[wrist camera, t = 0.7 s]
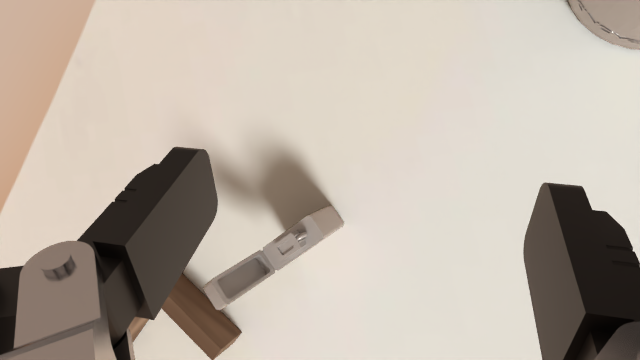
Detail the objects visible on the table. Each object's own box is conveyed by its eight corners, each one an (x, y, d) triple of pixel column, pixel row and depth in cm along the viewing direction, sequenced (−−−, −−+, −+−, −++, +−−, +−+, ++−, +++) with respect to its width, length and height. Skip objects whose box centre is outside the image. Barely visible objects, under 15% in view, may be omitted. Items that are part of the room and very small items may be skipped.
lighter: (331, 203, 32) (284, 225, 25) (345, 224, 32) (302, 252, 25) (258, 256, 35) (196, 290, 27) (271, 275, 34) (212, 315, 27)
